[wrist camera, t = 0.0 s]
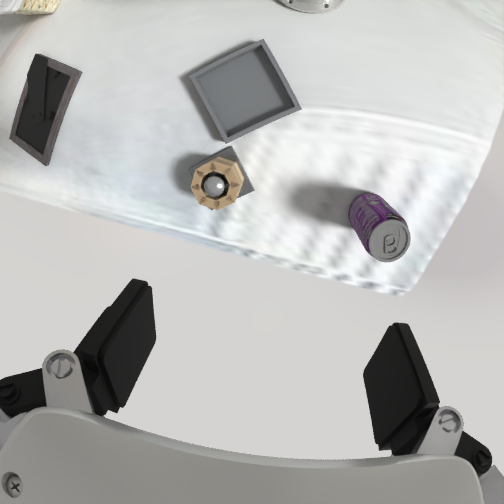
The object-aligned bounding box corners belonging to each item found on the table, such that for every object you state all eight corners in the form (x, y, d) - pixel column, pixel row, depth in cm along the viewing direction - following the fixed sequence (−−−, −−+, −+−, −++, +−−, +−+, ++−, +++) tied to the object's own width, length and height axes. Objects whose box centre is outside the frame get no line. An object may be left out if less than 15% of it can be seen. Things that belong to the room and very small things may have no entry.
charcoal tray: (193, 78, 38) (188, 76, 36) (264, 43, 35) (263, 39, 32) (228, 142, 43) (225, 143, 40) (300, 109, 39) (301, 109, 37)
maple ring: (192, 170, 45) (183, 175, 41) (230, 150, 43) (224, 154, 39) (212, 206, 47) (206, 215, 43) (250, 189, 45) (246, 196, 41)
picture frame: (41, 54, 35) (13, 137, 44) (35, 53, 34) (8, 138, 43) (84, 72, 38) (50, 164, 47) (77, 71, 36) (44, 166, 45)
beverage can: (389, 225, 46) (415, 257, 35) (352, 235, 48) (369, 271, 37) (382, 187, 43) (410, 211, 32) (343, 197, 45) (361, 224, 34)
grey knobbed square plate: (189, 168, 45) (178, 175, 40) (232, 146, 43) (225, 150, 38) (212, 209, 48) (204, 220, 43) (254, 189, 46) (250, 199, 41)
